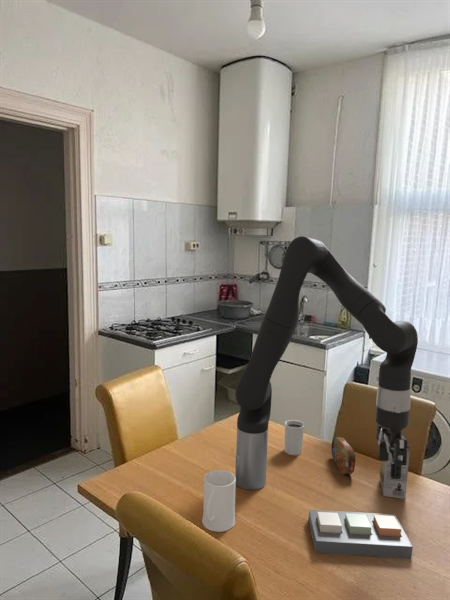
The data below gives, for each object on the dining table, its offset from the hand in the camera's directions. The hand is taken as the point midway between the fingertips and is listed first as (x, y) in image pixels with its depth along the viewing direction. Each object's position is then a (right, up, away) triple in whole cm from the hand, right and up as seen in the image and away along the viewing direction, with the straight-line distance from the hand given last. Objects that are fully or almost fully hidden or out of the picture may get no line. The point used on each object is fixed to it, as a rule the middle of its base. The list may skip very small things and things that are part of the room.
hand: (389, 469), depth 106 cm
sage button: (-7, -16, +1) cm, 18 cm away
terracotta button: (0, -16, +1) cm, 16 cm away
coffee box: (+10, -15, +24) cm, 30 cm away
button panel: (-7, -18, +2) cm, 19 cm away
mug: (-42, -16, +5) cm, 46 cm away
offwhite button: (-14, -16, +2) cm, 21 cm away
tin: (-2, -14, +36) cm, 39 cm away
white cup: (-16, -12, +46) cm, 50 cm away
